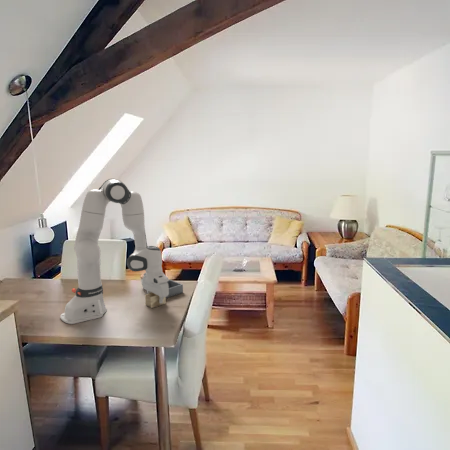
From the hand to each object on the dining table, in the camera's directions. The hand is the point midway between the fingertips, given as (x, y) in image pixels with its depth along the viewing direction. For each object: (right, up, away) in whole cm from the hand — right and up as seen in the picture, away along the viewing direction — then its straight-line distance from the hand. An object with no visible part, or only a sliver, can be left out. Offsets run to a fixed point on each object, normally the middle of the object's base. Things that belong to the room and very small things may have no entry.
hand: (155, 300), depth 215 cm
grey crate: (+3, +1, +16) cm, 16 cm away
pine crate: (0, -2, 0) cm, 2 cm away
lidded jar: (-8, +3, +26) cm, 27 cm away
